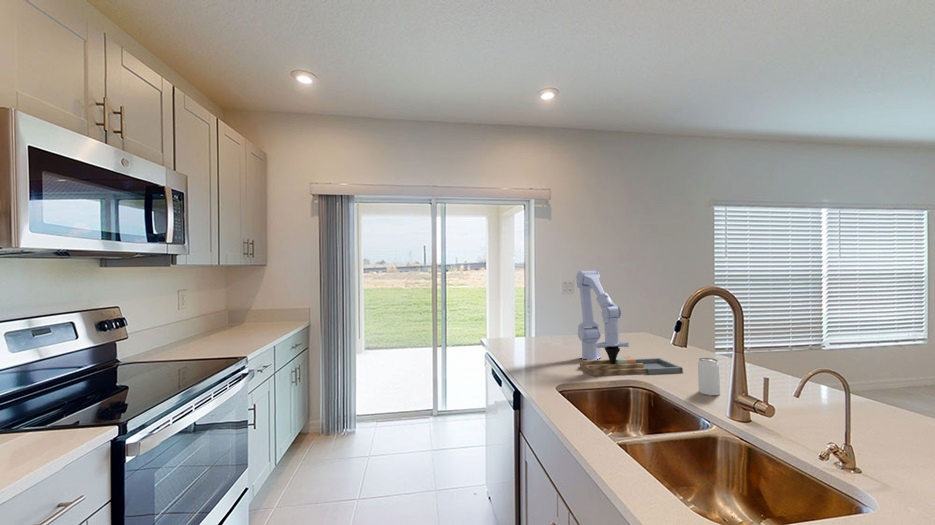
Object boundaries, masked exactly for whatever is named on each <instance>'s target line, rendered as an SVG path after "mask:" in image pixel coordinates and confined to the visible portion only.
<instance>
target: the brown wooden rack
mask: <svg viewBox="0 0 935 525" xmlns="http://www.w3.org/2000/svg"><path fill="white" fill-rule="evenodd" d="M580 367H581V369H582V368H583V369H584V370H583V369H582V370H583V371H585V372H586V373H587V372H588V373H587V374H588V375H590V376H592V377H602V376H603V377H604V376H605V377H606V376H621V375H623V376H624V375H642V374H643V375H645V374H646V375H648V374H647V369H646V368H644V364H643V363H635V364H611V363H610V360H609V359H598V360H581V362H579V368H580Z"/></svg>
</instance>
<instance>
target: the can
mask: <svg viewBox="0 0 935 525" xmlns="http://www.w3.org/2000/svg"><path fill="white" fill-rule="evenodd" d="M720 370H721V369H720V363H719V362H718V359H715V358H711V357H700V358H698V362H697V378H698V379H697V381H698V384H697V385H698V392H699V393H700V392H701V393H700V394H702V393H703V394H702V395H704V394H707V395H706V396H709V395H718V396H719V395H721V377H720V376H721V374H720Z"/></svg>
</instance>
